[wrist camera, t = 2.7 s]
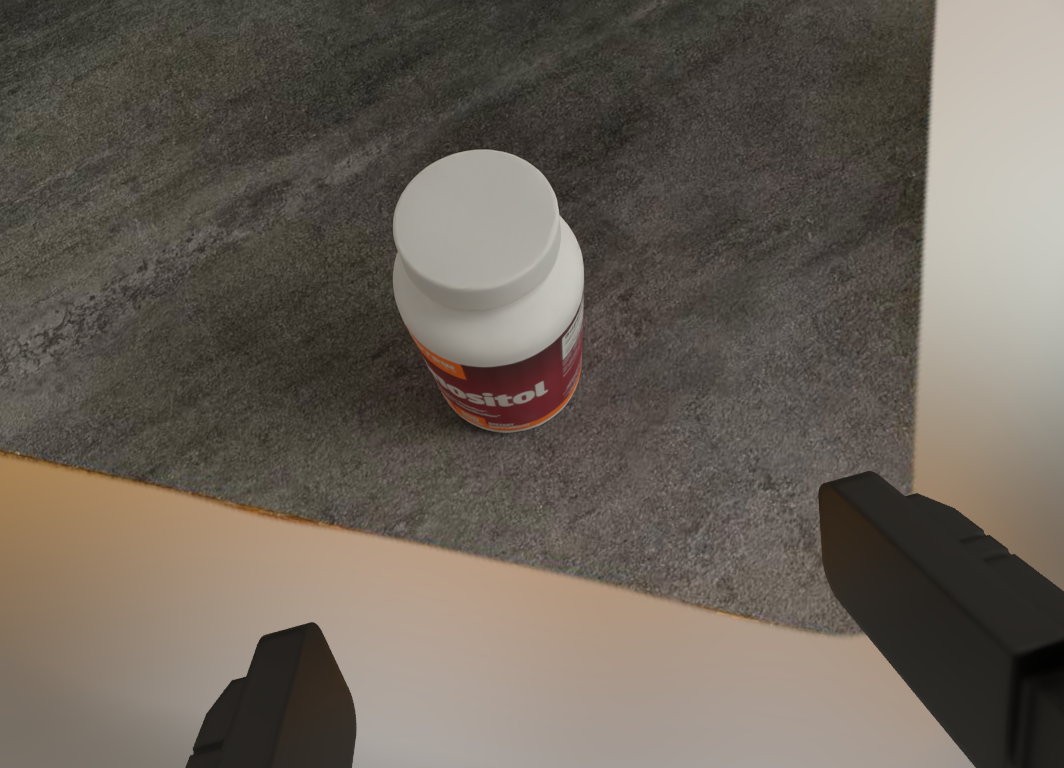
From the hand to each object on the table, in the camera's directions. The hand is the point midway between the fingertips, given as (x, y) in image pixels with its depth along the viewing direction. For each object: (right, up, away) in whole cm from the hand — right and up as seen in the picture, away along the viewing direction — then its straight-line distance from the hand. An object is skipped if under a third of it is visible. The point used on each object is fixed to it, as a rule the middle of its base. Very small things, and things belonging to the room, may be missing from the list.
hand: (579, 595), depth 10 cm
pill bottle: (-2, +4, +18) cm, 19 cm away
